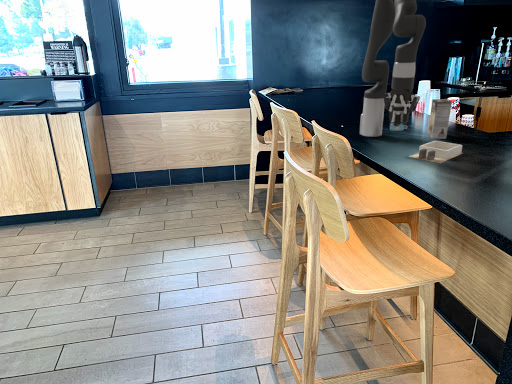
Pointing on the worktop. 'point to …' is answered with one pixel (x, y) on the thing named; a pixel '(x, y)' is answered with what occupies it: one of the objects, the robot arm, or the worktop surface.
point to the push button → (397, 117)
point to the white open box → (442, 149)
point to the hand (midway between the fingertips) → (398, 122)
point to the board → (430, 156)
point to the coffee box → (439, 118)
